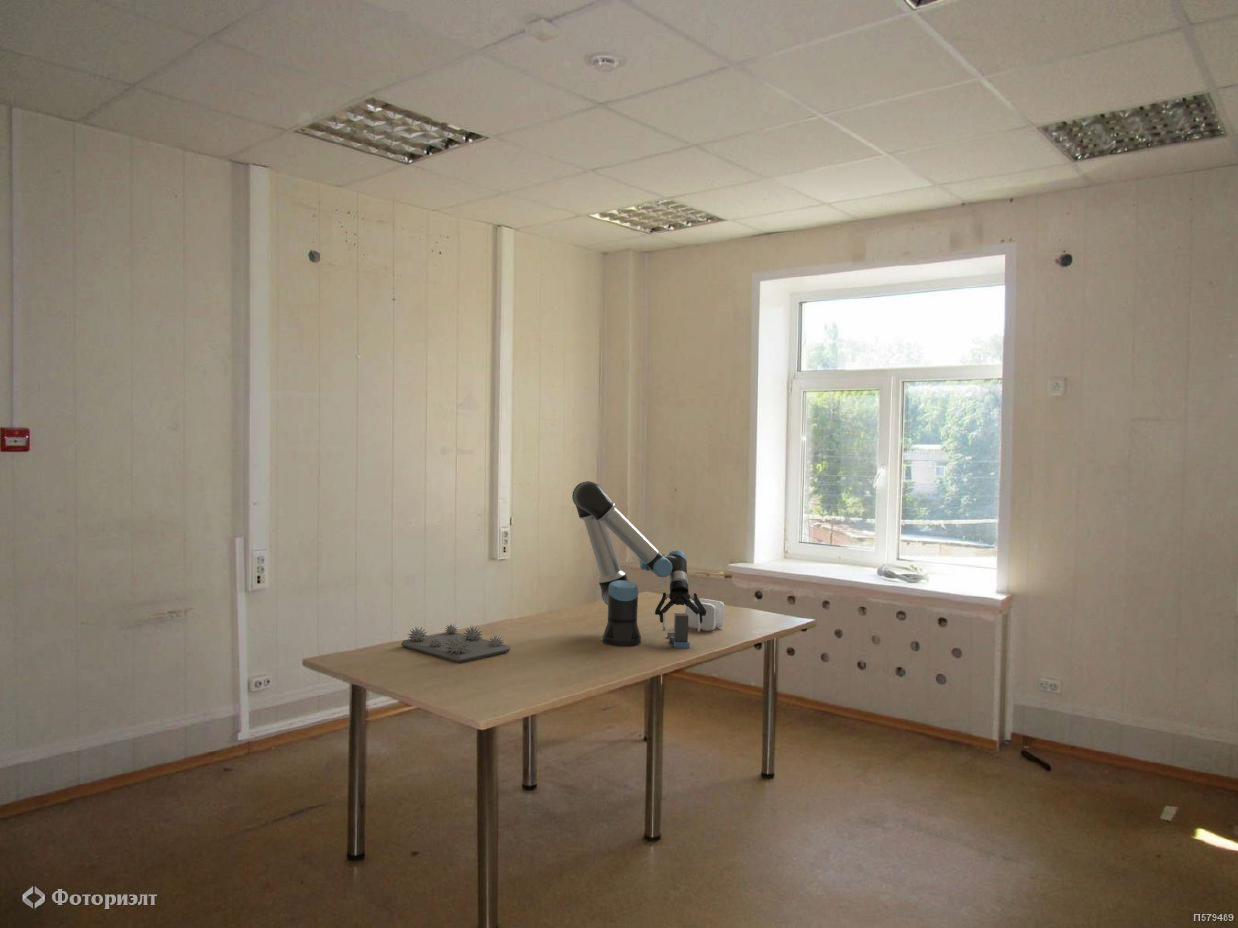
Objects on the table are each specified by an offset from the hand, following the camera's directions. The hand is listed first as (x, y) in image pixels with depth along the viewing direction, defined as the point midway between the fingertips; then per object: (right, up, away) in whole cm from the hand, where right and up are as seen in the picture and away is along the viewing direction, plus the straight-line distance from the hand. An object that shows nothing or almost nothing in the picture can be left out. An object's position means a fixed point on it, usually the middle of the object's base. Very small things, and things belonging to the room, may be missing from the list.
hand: (681, 629), depth 322 cm
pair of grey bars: (-2, -6, +11) cm, 13 cm away
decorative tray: (-85, -5, -16) cm, 87 cm away
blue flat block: (0, -7, +2) cm, 7 cm away
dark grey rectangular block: (0, -7, +3) cm, 7 cm away
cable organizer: (+13, -7, +36) cm, 39 cm away
